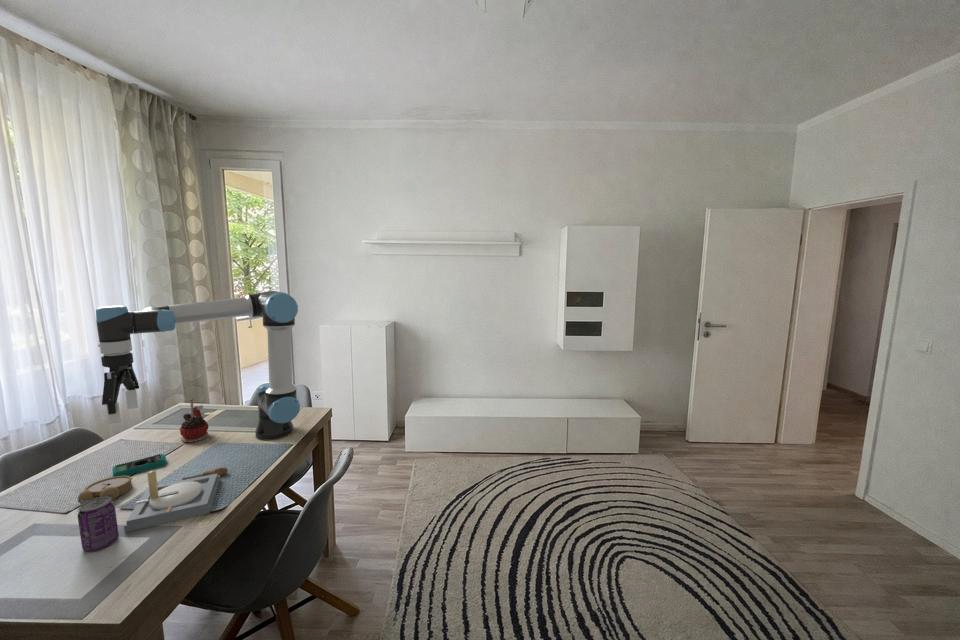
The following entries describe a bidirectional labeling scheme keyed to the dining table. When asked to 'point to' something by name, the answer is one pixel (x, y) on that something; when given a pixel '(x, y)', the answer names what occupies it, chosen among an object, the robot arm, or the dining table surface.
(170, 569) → the dining table surface
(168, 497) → the dial
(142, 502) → the panel
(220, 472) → the screwdriver
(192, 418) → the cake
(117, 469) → the digital multimeter
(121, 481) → the alarm clock
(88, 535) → the beverage can
